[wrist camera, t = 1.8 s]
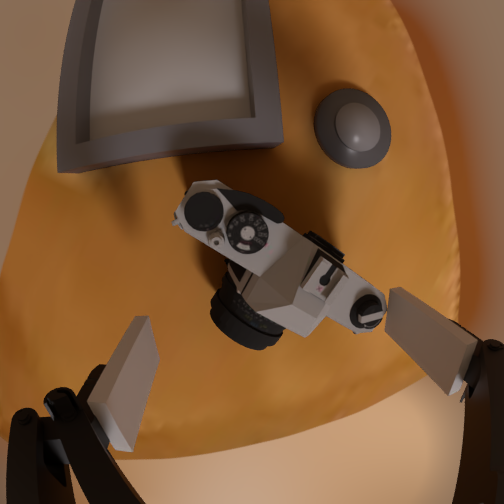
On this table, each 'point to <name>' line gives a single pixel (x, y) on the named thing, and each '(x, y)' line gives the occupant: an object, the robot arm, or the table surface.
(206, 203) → the camera
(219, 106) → the case tray
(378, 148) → the lens cap
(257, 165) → the table surface
